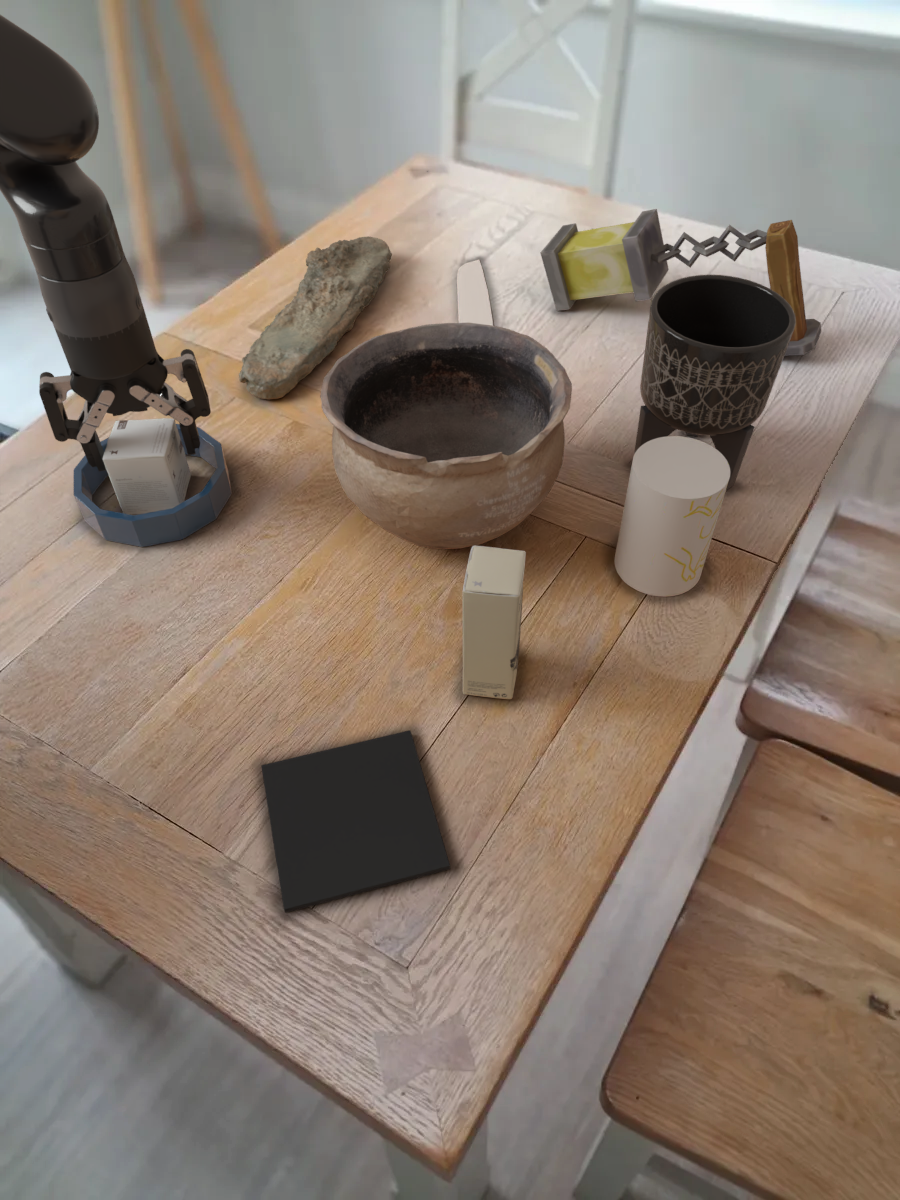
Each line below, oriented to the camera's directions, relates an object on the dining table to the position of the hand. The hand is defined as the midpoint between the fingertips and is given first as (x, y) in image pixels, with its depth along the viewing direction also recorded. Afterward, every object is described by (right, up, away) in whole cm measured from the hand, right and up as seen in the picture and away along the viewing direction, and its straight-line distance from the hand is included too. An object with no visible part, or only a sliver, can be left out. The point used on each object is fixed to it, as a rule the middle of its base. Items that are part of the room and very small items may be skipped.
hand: (147, 457), depth 89 cm
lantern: (+58, +21, +24) cm, 66 cm away
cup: (+49, -11, -3) cm, 51 cm away
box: (+33, -20, -12) cm, 41 cm away
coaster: (+22, -30, -21) cm, 43 cm away
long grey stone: (+14, +21, +25) cm, 35 cm away
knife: (+33, +20, +24) cm, 45 cm away
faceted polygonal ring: (0, -3, +3) cm, 5 cm away
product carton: (0, -3, +4) cm, 5 cm away
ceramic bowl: (+30, -5, +2) cm, 30 cm away
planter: (+55, 0, +6) cm, 55 cm away
